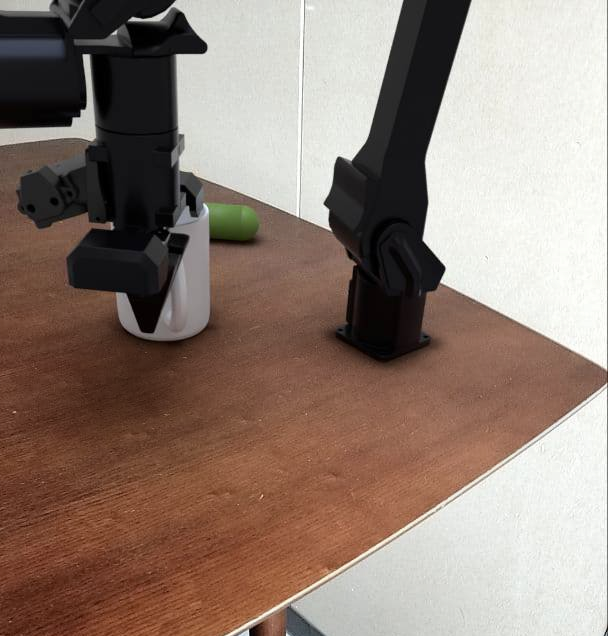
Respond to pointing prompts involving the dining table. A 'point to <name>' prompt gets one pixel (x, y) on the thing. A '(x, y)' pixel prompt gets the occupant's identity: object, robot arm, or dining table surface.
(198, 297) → the mug
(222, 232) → the pickle
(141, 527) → the dining table surface
